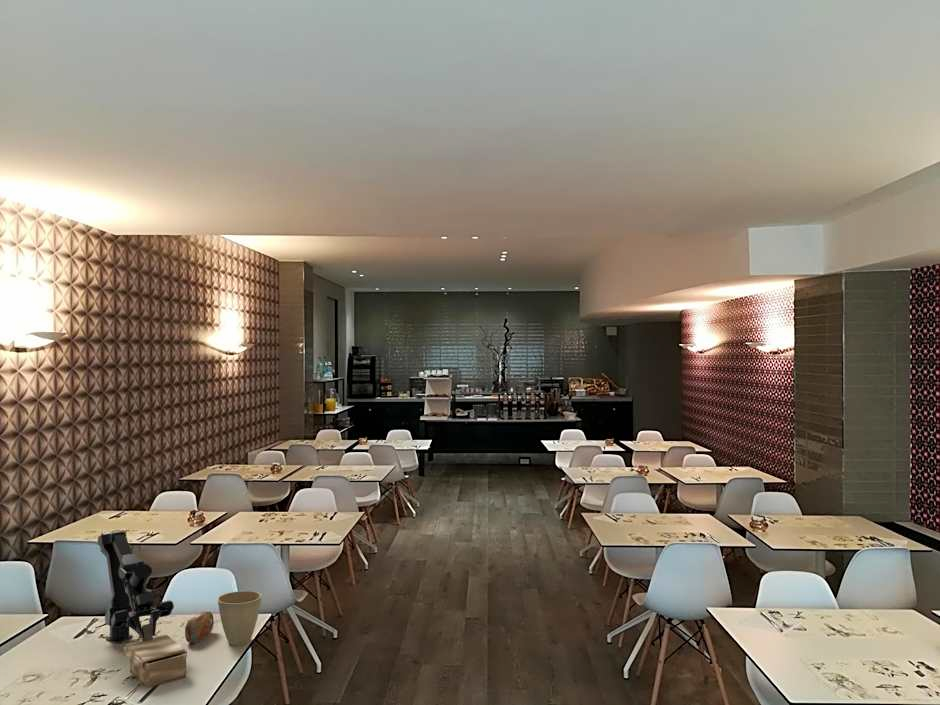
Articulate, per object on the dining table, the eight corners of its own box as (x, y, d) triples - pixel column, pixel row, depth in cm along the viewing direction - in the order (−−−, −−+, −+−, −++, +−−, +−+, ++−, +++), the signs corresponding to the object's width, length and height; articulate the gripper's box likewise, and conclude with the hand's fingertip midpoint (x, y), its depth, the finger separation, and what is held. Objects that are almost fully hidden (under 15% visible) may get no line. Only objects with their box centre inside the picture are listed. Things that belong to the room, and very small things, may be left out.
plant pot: (253, 650, 255) (253, 603, 255) (211, 649, 256) (211, 603, 256) (266, 634, 270) (266, 590, 270) (226, 634, 270) (226, 590, 271)
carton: (130, 671, 238) (130, 649, 238) (168, 661, 246) (168, 640, 246) (146, 688, 226) (146, 665, 226) (186, 677, 234) (186, 654, 234)
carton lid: (124, 653, 239) (124, 629, 239) (168, 642, 248) (168, 619, 249) (141, 669, 227) (141, 643, 227) (186, 657, 236) (186, 632, 236)
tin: (191, 646, 259) (191, 622, 259) (183, 646, 259) (183, 621, 259) (214, 631, 273) (214, 608, 274) (206, 630, 274) (206, 608, 274)
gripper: (113, 587, 240) (124, 630, 232) (172, 576, 253) (183, 617, 244) (106, 605, 246) (116, 648, 238) (164, 594, 258) (175, 634, 250)
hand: (148, 636), depth 242 cm, fingers closed on carton lid, 3 cm apart
